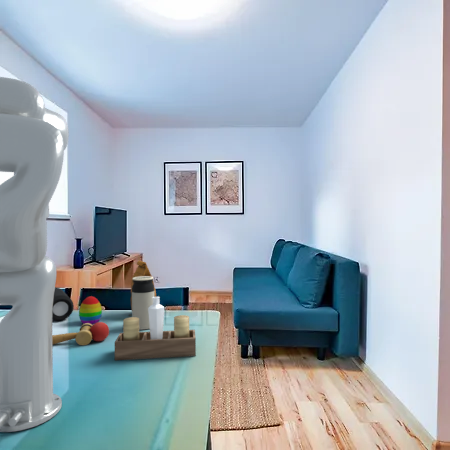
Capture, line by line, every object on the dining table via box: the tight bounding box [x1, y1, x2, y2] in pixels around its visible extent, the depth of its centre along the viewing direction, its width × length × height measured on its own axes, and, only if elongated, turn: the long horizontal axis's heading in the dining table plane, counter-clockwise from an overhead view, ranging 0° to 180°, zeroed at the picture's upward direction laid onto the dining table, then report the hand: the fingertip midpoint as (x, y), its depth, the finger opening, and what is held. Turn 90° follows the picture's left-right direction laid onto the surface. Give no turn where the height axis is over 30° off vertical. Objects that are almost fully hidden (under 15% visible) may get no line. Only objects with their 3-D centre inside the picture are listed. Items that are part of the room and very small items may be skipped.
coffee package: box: [130, 260, 157, 309], centre depth 140 cm, size 10×12×22 cm
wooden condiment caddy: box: [114, 314, 197, 361], centre depth 99 cm, size 8×22×10 cm, turn 96°
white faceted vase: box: [148, 296, 165, 339], centre depth 99 cm, size 5×4×15 cm
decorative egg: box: [78, 295, 103, 325], centre depth 130 cm, size 8×8×10 cm
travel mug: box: [131, 275, 155, 331], centre depth 124 cm, size 8×8×18 cm
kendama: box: [52, 321, 110, 346], centre depth 108 cm, size 8×6×18 cm
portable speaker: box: [52, 287, 75, 322], centre depth 142 cm, size 26×10×10 cm, turn 33°
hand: (31, 241), depth 88 cm, fingers open, 9 cm apart
